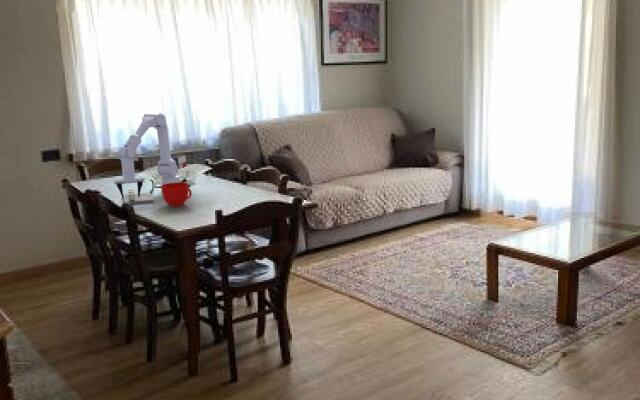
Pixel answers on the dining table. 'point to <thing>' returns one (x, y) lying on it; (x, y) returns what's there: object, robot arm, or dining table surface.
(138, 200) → the switch base
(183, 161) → the red and white box
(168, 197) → the ceramic cup
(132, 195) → the sage knob
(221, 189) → the dining table surface
